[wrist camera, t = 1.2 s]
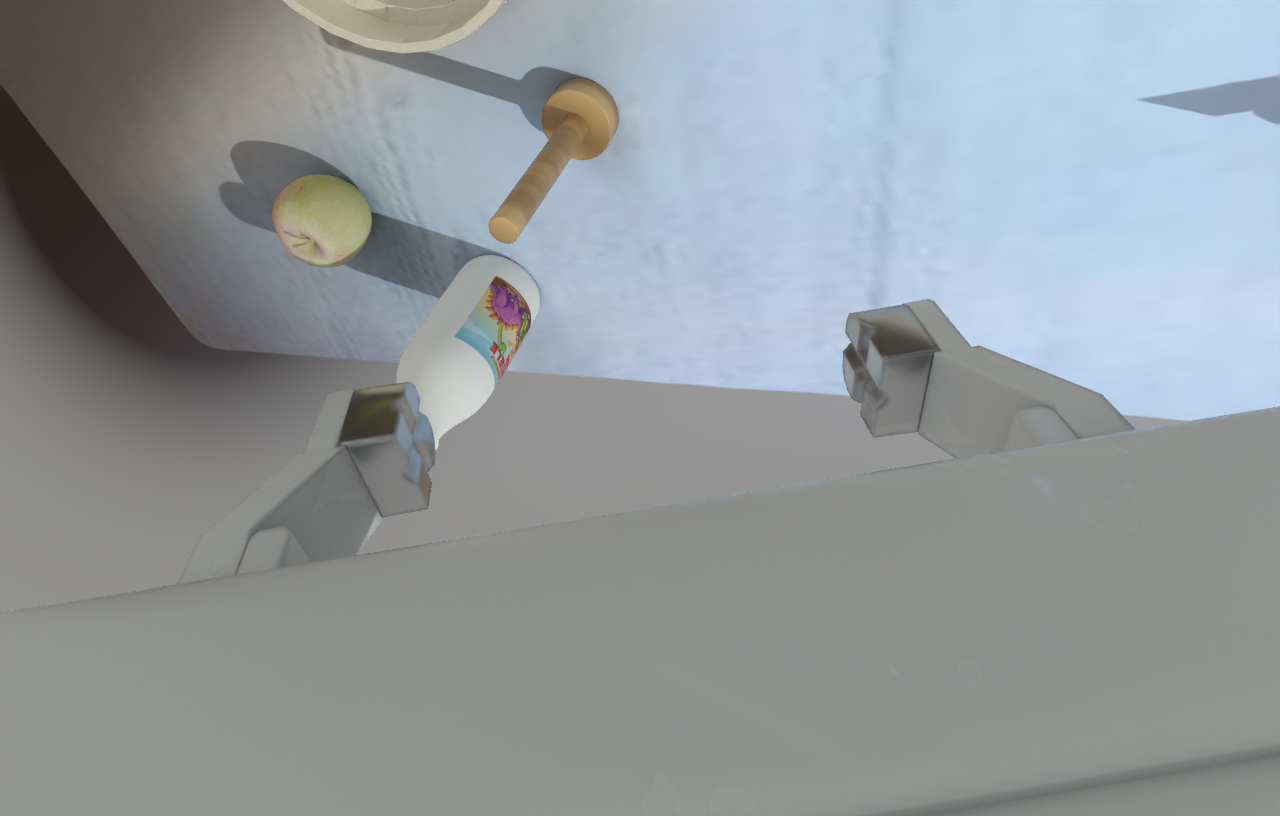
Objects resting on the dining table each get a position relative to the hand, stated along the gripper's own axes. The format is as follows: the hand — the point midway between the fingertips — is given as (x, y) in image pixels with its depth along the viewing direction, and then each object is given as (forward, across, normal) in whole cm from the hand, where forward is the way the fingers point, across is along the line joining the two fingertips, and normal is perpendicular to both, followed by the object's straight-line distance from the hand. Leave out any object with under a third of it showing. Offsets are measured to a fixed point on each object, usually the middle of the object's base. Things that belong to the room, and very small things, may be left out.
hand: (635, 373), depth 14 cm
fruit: (+52, +21, +16) cm, 58 cm away
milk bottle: (+48, +9, +25) cm, 54 cm away
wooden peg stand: (+42, 0, +9) cm, 43 cm away
